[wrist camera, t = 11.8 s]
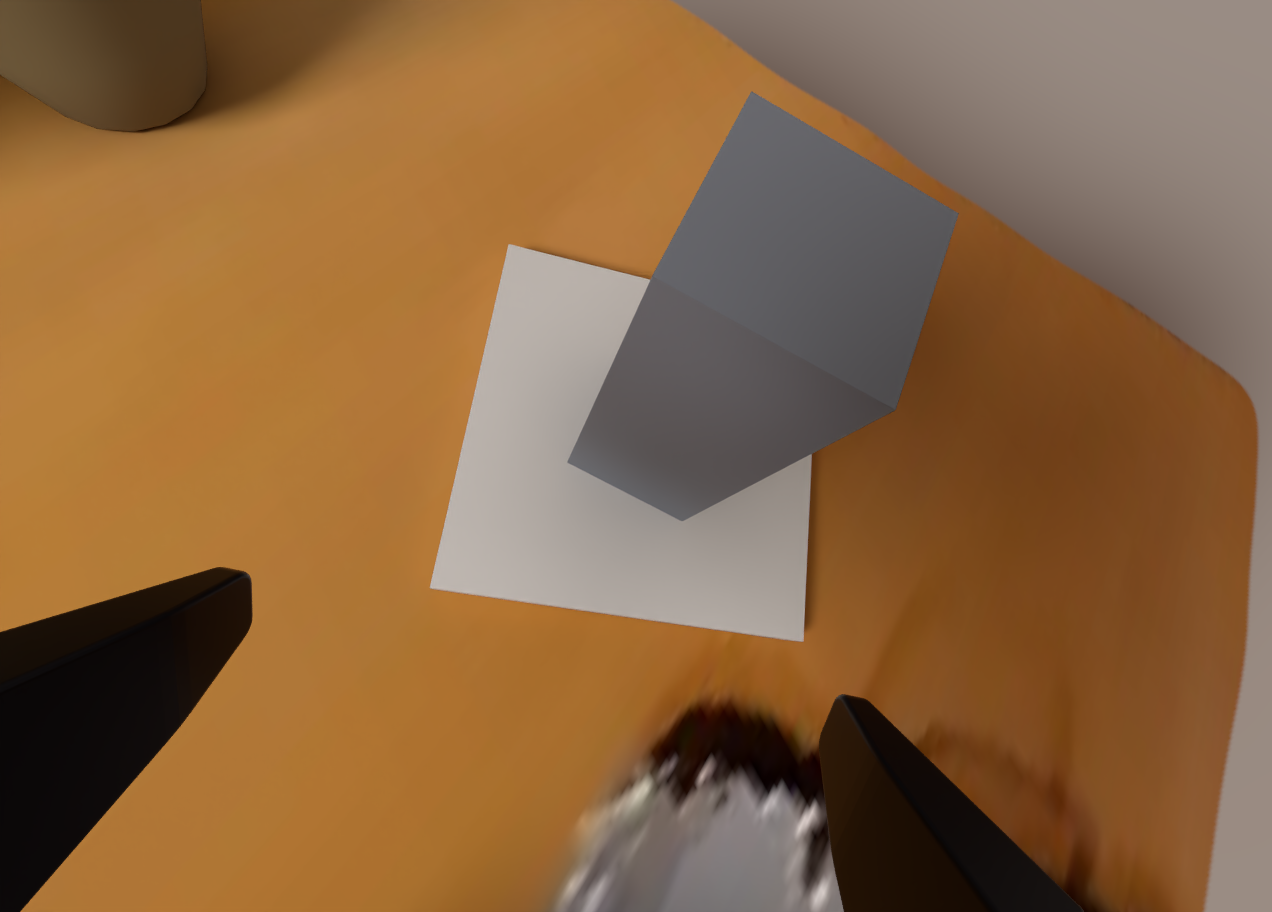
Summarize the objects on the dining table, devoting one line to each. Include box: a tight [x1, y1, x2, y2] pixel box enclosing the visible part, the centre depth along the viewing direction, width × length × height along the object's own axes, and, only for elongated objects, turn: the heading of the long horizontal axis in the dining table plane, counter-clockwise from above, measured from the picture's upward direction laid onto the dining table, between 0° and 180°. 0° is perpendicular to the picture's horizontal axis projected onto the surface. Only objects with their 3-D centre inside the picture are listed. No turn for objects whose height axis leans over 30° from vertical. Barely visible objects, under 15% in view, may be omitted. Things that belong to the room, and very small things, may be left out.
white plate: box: [430, 244, 812, 642], centre depth 24 cm, size 14×14×1 cm
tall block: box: [567, 91, 959, 521], centre depth 17 cm, size 5×5×13 cm
